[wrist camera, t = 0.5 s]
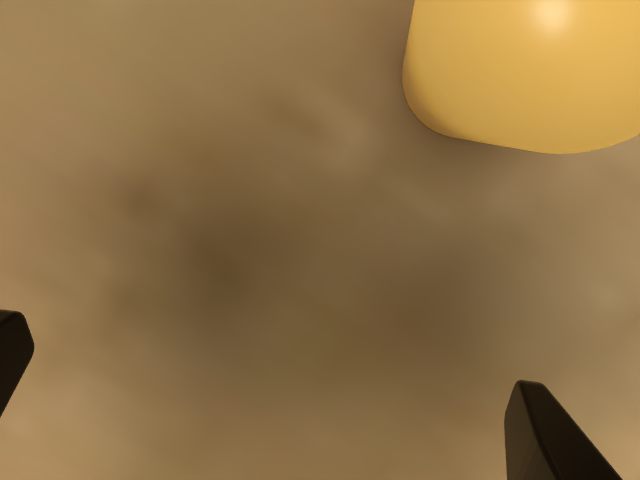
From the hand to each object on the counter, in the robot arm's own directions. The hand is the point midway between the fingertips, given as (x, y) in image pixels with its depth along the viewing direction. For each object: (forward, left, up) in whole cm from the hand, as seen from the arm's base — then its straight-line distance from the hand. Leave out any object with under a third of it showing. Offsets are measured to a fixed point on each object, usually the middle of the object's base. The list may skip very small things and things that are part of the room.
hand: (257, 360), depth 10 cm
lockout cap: (+6, -5, -14) cm, 16 cm away
